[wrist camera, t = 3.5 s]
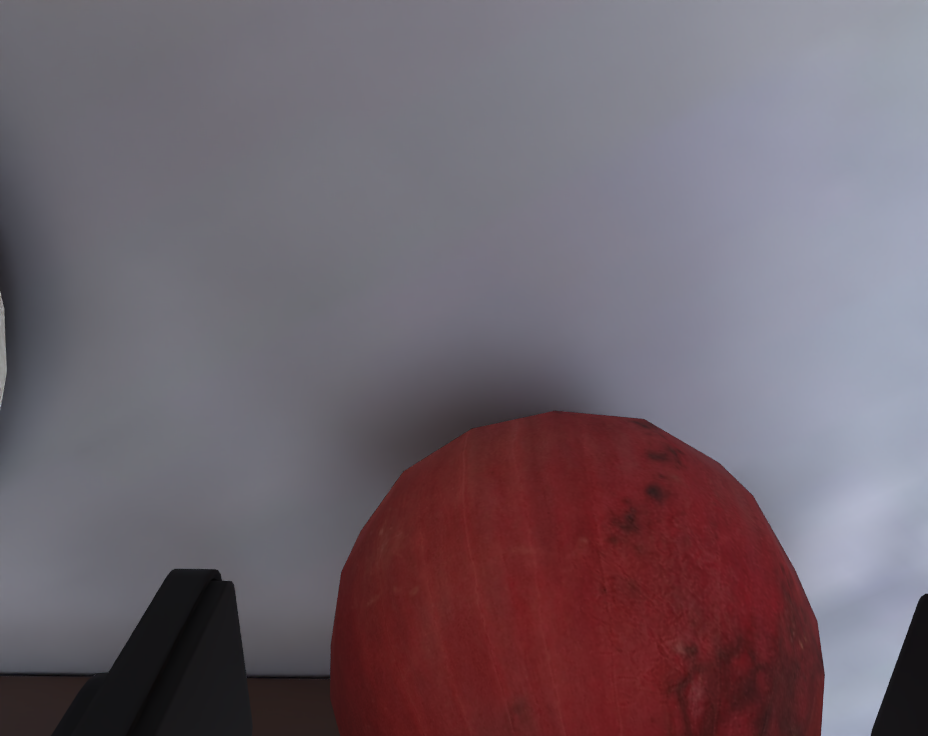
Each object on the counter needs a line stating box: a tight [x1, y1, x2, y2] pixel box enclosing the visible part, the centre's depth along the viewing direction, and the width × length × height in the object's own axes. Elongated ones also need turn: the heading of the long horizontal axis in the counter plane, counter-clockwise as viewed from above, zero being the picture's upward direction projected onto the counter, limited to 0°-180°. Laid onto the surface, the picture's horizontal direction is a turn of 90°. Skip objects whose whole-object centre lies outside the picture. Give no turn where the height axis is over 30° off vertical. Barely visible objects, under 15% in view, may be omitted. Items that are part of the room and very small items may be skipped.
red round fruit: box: [330, 411, 825, 736], centre depth 8 cm, size 6×6×8 cm
